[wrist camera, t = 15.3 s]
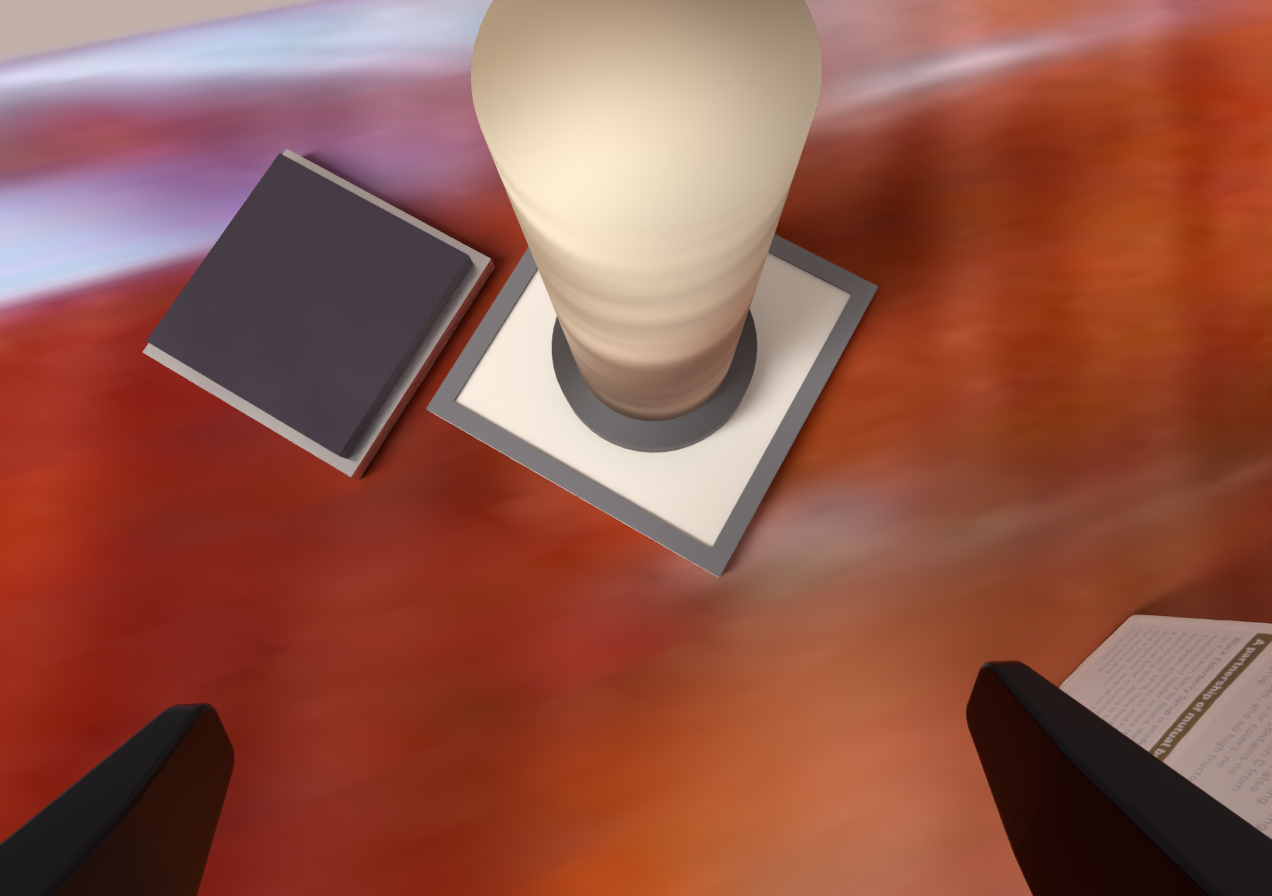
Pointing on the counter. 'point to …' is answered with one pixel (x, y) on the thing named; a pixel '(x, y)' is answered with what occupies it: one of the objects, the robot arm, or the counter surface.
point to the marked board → (676, 480)
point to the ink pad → (320, 311)
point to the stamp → (648, 190)
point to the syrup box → (1191, 702)
